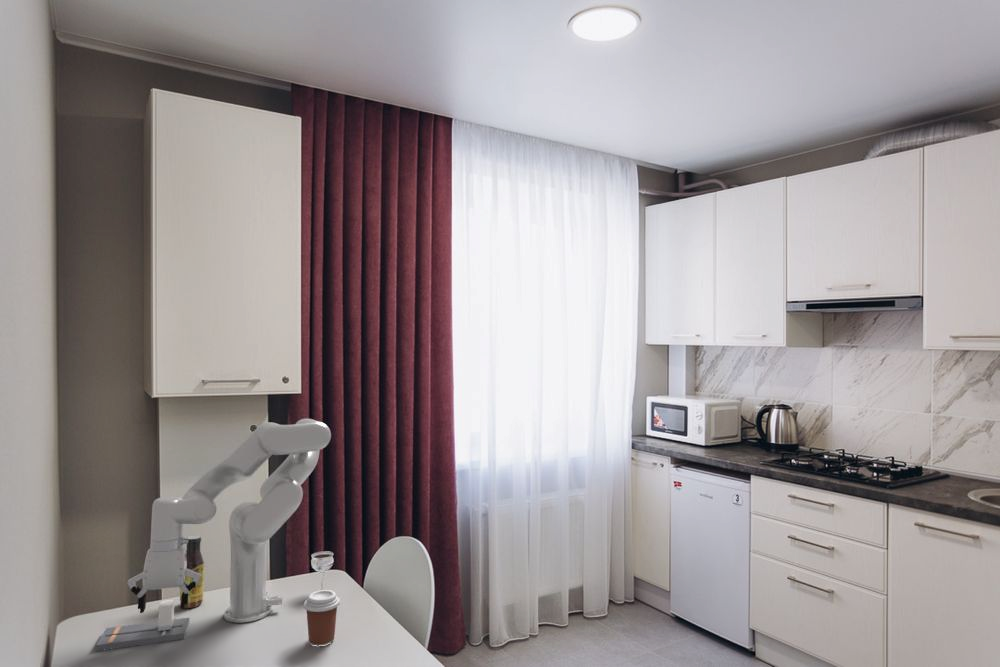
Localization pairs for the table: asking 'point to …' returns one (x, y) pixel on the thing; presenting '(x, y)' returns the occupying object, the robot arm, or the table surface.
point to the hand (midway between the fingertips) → (163, 609)
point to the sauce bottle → (196, 565)
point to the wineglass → (322, 562)
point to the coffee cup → (321, 616)
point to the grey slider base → (141, 634)
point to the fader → (166, 615)
